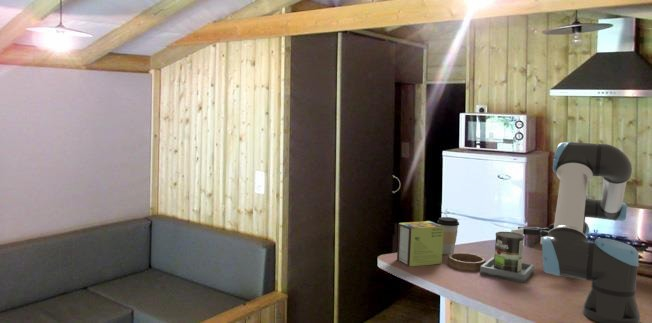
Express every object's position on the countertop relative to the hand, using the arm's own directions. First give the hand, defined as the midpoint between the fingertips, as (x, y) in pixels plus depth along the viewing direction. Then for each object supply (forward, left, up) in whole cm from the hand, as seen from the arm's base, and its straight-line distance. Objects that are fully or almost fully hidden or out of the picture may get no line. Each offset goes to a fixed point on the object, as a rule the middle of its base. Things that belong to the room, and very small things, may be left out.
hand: (526, 236), depth 198 cm
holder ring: (-9, +20, -13) cm, 26 cm away
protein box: (-17, +37, -13) cm, 43 cm away
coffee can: (-9, +4, -12) cm, 16 cm away
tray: (-9, +4, -13) cm, 16 cm away
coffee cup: (+3, +33, -13) cm, 36 cm away
